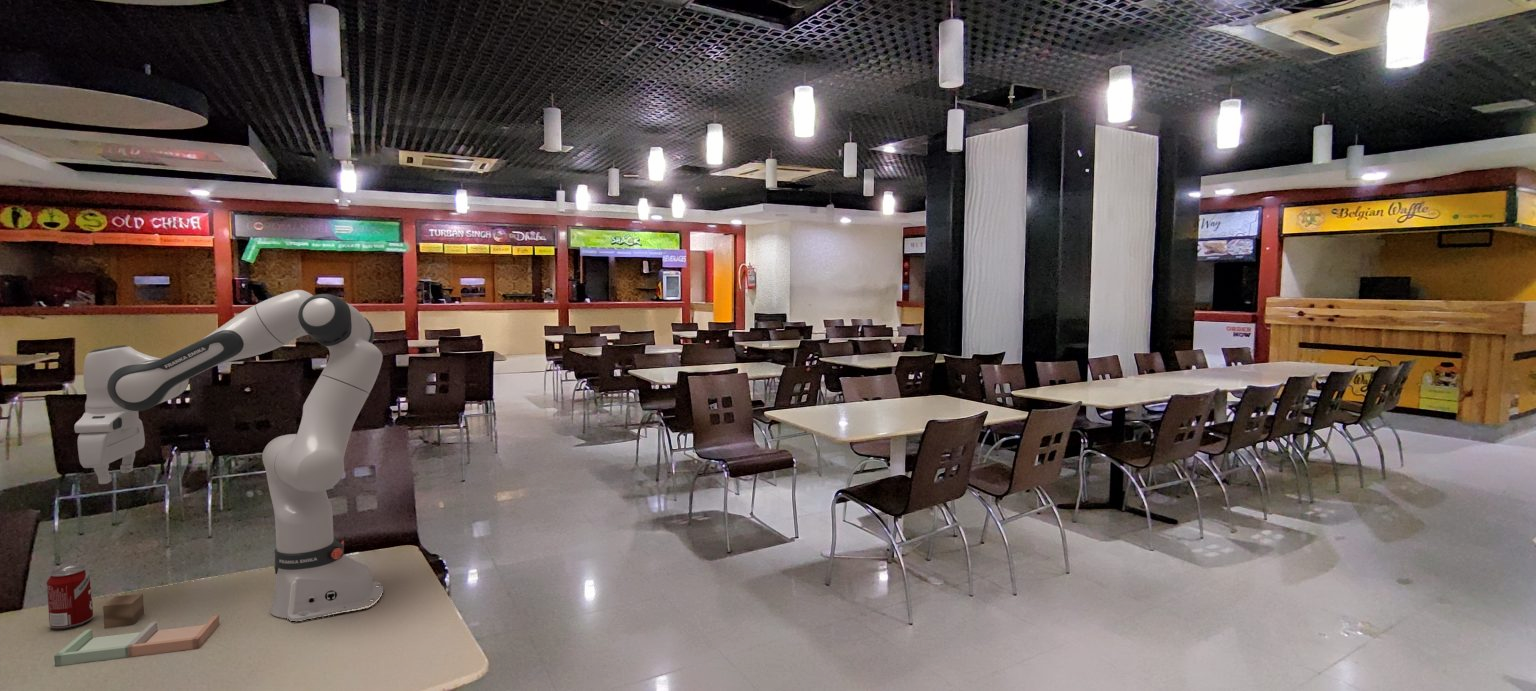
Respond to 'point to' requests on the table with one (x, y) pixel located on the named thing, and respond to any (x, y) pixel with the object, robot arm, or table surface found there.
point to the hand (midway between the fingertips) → (116, 477)
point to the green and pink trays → (134, 643)
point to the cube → (123, 610)
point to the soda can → (69, 597)
